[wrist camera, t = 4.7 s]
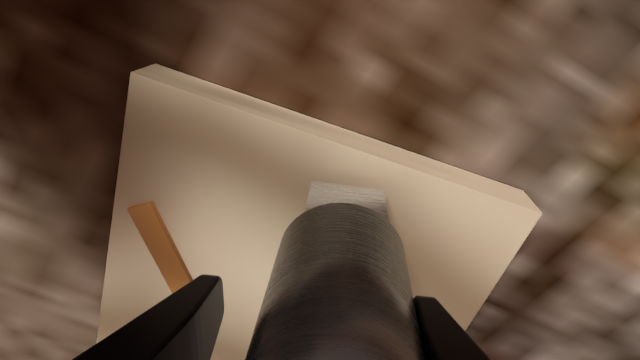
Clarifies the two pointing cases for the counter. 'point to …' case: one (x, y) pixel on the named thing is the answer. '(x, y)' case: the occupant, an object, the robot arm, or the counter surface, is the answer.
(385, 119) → the counter surface
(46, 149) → the counter surface
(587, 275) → the counter surface
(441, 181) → the base board
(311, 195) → the lever
